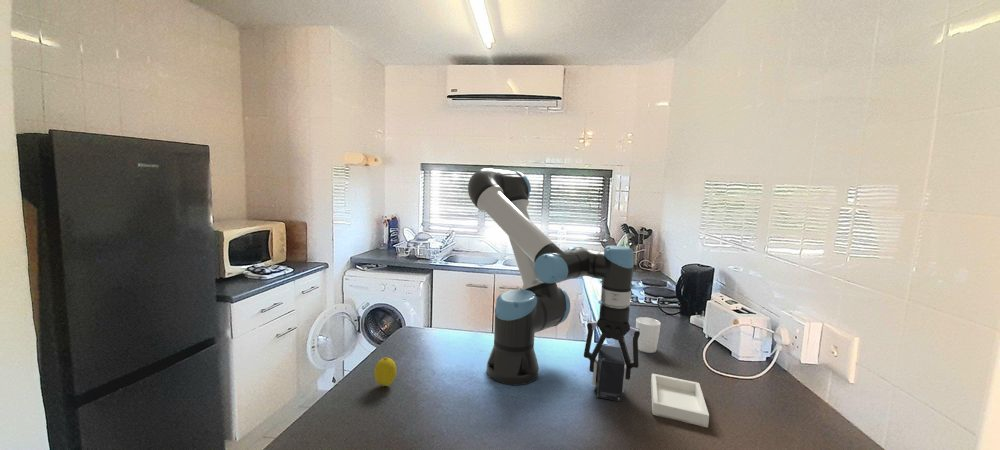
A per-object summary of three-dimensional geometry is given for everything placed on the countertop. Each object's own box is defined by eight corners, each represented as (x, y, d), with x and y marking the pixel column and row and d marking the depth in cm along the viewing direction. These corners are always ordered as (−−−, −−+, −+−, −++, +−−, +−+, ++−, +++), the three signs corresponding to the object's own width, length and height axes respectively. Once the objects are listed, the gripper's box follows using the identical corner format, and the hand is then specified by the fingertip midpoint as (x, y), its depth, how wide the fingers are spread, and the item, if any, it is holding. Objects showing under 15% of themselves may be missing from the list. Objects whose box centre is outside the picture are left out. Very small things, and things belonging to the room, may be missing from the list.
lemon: (370, 386, 98) (370, 357, 97) (389, 378, 102) (389, 350, 101) (381, 394, 94) (381, 364, 93) (400, 386, 98) (400, 357, 97)
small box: (622, 402, 95) (626, 363, 94) (596, 398, 96) (599, 360, 95) (618, 382, 105) (621, 346, 104) (595, 378, 107) (597, 343, 106)
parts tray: (652, 414, 91) (653, 402, 90) (650, 383, 105) (651, 373, 105) (707, 427, 86) (709, 415, 86) (698, 393, 101) (699, 382, 101)
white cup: (661, 354, 125) (664, 325, 124) (638, 353, 125) (641, 324, 124) (652, 344, 133) (655, 317, 132) (630, 343, 133) (633, 316, 132)
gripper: (575, 302, 99) (569, 384, 101) (655, 314, 92) (647, 402, 94) (579, 295, 105) (574, 372, 108) (654, 306, 99) (647, 387, 101)
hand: (608, 386), depth 101 cm, fingers closed on small box, 7 cm apart
